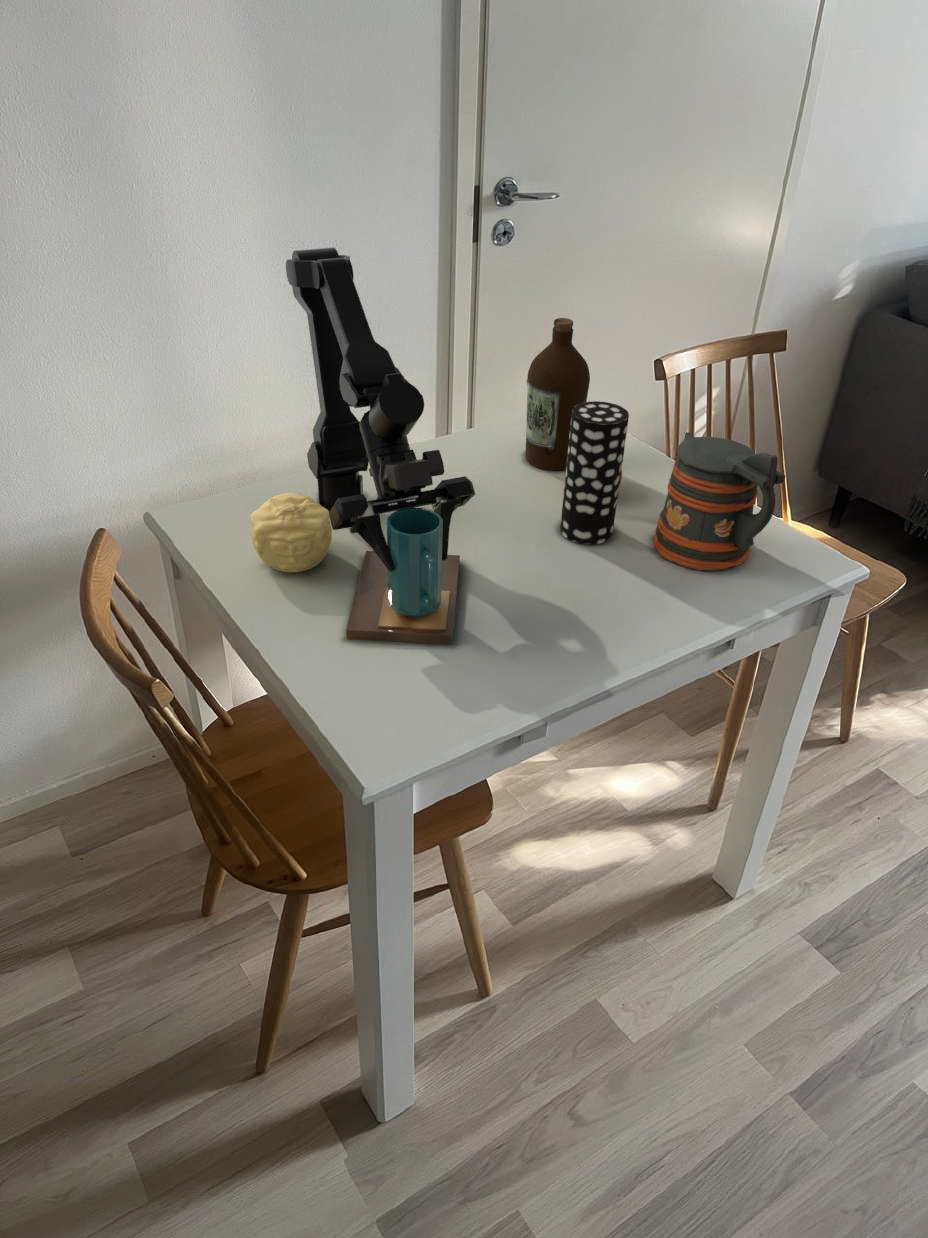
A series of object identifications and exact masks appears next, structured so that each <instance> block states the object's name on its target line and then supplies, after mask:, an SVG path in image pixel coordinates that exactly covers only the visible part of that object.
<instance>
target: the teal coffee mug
mask: <svg viewBox="0 0 928 1238" xmlns="http://www.w3.org/2000/svg"><path fill="white" fill-rule="evenodd" d="M442 538H443V519H442V518H441V516H440V515H439V514H438V513H436V512H434V511H433V509H428V508H424V507H414V508H405V509H400V510H398V511H393V512H392V513H391V514H390V515H389V516H388V517H387V519H386V543H387V546H388V549H389V552H390V555H391V558H392V562H393V567H394V570H393V571H391V572H390V571H389V570H388V600H389V605H390V607H391V608H392V609H393V610H394V611H396V612H397V613H400V614H402V615H406V616H424V615H428V614H430V613H432V612H434V611H436V610H437V609H438V608H439V606H440V604H441V582H442Z"/></svg>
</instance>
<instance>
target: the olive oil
mask: <svg viewBox="0 0 928 1238" xmlns="http://www.w3.org/2000/svg"><path fill="white" fill-rule="evenodd" d="M573 327H574V320H572V319H571V318H567V317H559V318H555V319H554V320H553V328H552V335H551V342H550V343H549V344H548V345H547V346H546V347H544V348H543V350H542V351H540V352H539V353H538V354H537V355H535V357H534V358H533V360H532V361H531V363H530V366H529V368H528V372H527V377H526V432H525V433H526V434H525V454H524V455H525V460H526V461H527V462H528V463H529V465H531V466H533V467H535V468H539V469H540V470H541V469H542V470H546V471H562V470H566V466H567V456H568V446H569V436H570V426H571V416H572V409H573V408H574V406H576V405H578V404H580V403H584V402H588V401H587V400H588V395H589V394H588V393H589V389H590V382H591V373H590V369H589V364H588V363H587V361H586V359H585V358H584V357H583V355H582V354H581V353H580V352H579V350H578V349H577V348H576V347H575V346H574V344H573V337H574V336H573V335H574V328H573Z"/></svg>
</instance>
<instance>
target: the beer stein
mask: <svg viewBox="0 0 928 1238" xmlns="http://www.w3.org/2000/svg"><path fill="white" fill-rule="evenodd" d="M675 454H676V456H677V458H676V459H675V461H674V463H673V468H672V471H671V474H670V476H669V477H670V478H669V480H668V484H667V496H666V498H665V502H664V504H663V508H662V510H661V511H660V513H659V515H658V516H659V517H658V520H657V524H656V528H655V532H654V537H653V547H654V549H655V550H656V551H657V552H658V554H659V555H660V556H661V557H662V558H663V559H665V560H667V561H670V562H671V563H674V564H677V565H680V566H682V567H685V568H689V569H693V570H697V571H706V572H717V571H719V572H720V571H725V570H730V569H735V568H736V567H737V566H739V565H742V564H743V563H744V562H745V561H746V560H747V559H748V557H749V555H750V552H751V547H753V546H754V544H755V542H754V538H755V537H756V536H758V535H759V534H760V533H761V532H762V531H763V530H764V529H765V528H766V527H767V525H768V524H769V523H770V521H771V519H772V517H773V515H774V512H775V507H776V493H775V488H774V487H775V485H778V484H783V483H784V482H785V479H786V475H785V474H784V473H782V472H780V471H778V461H779V459H778V456H777V455H772V454H771V453H768V452H759V453H756V452H755V451H754V450H753V449H752V448H750V447H749V446H747V445H745V444H744V443H741V442H739V441H736V440H732V439H728V438H723V437H717V436H716V437H715V436H694V435H692V433H690V432H688V431H686V432H685V433H684V437H683V441H682V442H681V443H679V445H678V446H677V448H676V453H675ZM758 488H759V489H760V491H761V494H762V506H761V508H760V510H759V511H758V512H757V513H753V512H754V505H755V504H756V501H757V498H758V494H759V492H758V491H759V490H758Z"/></svg>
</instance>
